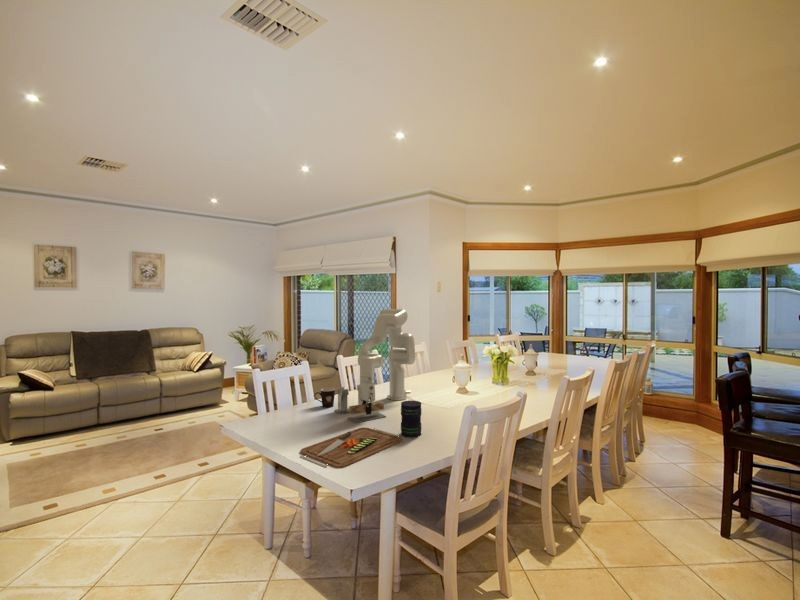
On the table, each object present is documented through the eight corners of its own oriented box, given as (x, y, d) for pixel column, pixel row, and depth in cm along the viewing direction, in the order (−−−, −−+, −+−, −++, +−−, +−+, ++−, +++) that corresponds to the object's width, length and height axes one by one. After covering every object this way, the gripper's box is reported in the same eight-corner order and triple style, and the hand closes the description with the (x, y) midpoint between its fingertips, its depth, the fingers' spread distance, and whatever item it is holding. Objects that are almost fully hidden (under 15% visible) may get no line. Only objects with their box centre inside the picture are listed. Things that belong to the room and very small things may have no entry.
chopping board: (335, 473, 154) (335, 465, 154) (292, 455, 171) (292, 448, 171) (408, 440, 189) (408, 433, 189) (366, 427, 206) (366, 421, 206)
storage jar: (397, 436, 193) (397, 404, 192) (404, 429, 202) (404, 399, 202) (417, 439, 189) (417, 406, 189) (424, 432, 198) (424, 401, 198)
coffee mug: (336, 404, 248) (336, 388, 247) (333, 408, 239) (333, 391, 239) (318, 404, 249) (318, 387, 248) (313, 407, 240) (313, 391, 240)
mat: (377, 413, 230) (377, 412, 230) (386, 417, 222) (386, 416, 222) (347, 418, 219) (347, 417, 219) (355, 423, 212) (355, 422, 212)
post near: (345, 409, 237) (345, 386, 237) (351, 412, 232) (351, 388, 231) (334, 411, 233) (334, 388, 233) (339, 414, 228) (339, 390, 227)
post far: (365, 405, 245) (365, 383, 244) (370, 408, 239) (370, 386, 239) (354, 407, 241) (354, 385, 241) (360, 410, 235) (360, 387, 235)
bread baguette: (380, 407, 228) (380, 401, 228) (384, 409, 225) (384, 402, 225) (348, 413, 216) (348, 406, 216) (351, 414, 213) (351, 408, 213)
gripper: (380, 380, 216) (380, 415, 216) (365, 375, 229) (365, 408, 229) (368, 382, 211) (368, 418, 212) (353, 377, 225) (353, 410, 225)
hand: (366, 412), depth 220 cm, fingers closed on bread baguette, 3 cm apart
